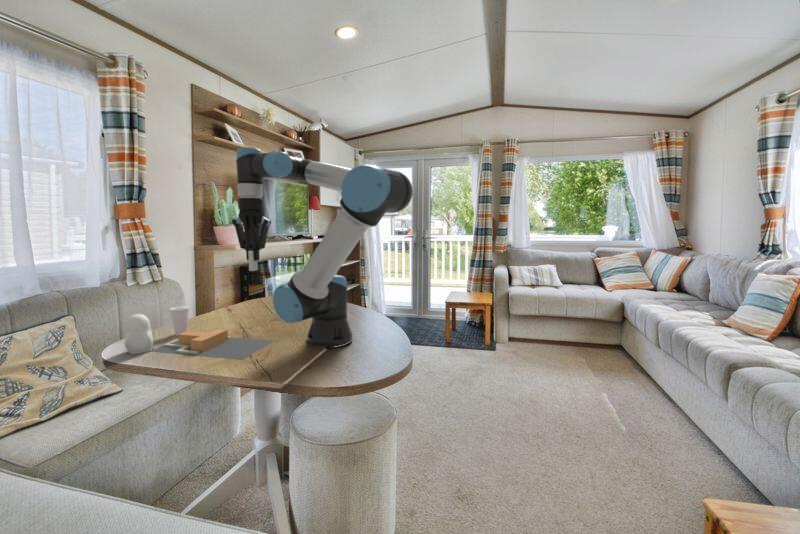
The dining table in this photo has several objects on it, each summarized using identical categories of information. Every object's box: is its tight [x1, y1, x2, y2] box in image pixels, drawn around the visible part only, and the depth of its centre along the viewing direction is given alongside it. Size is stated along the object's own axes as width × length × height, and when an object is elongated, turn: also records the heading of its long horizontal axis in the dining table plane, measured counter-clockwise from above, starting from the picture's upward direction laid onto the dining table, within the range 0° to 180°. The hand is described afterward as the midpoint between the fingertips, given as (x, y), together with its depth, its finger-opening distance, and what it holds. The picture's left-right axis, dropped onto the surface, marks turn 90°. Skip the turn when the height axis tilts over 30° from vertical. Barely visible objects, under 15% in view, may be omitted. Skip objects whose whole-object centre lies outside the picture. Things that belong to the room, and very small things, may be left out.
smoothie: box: [168, 295, 191, 337], centre depth 135 cm, size 6×6×14 cm
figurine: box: [124, 313, 154, 355], centre depth 118 cm, size 7×8×12 cm
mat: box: [147, 336, 276, 360], centre depth 121 cm, size 32×18×1 cm, turn 79°
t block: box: [177, 328, 229, 352], centre depth 122 cm, size 12×12×4 cm
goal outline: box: [163, 335, 232, 354], centre depth 123 cm, size 15×16×1 cm
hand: (253, 270), depth 125 cm, fingers closed
